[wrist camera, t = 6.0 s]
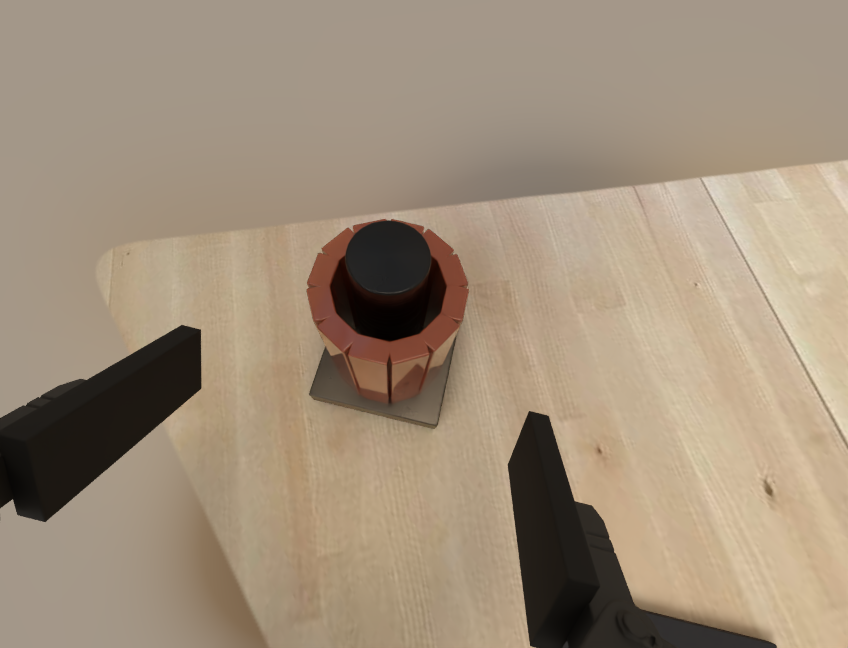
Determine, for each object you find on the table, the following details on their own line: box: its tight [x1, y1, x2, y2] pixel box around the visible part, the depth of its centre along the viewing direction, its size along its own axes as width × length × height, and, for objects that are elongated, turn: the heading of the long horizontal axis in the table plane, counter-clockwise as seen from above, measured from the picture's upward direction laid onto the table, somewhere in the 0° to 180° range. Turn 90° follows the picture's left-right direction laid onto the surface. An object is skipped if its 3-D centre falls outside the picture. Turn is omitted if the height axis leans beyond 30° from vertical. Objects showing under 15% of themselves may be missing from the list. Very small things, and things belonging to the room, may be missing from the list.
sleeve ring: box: [307, 219, 469, 404], centre depth 21 cm, size 7×7×9 cm
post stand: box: [309, 220, 457, 429], centre depth 21 cm, size 8×8×13 cm
